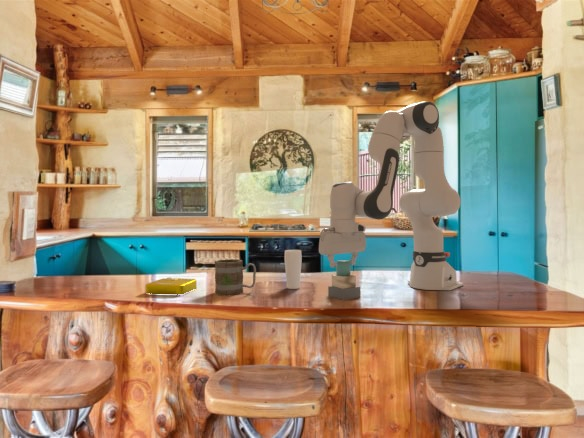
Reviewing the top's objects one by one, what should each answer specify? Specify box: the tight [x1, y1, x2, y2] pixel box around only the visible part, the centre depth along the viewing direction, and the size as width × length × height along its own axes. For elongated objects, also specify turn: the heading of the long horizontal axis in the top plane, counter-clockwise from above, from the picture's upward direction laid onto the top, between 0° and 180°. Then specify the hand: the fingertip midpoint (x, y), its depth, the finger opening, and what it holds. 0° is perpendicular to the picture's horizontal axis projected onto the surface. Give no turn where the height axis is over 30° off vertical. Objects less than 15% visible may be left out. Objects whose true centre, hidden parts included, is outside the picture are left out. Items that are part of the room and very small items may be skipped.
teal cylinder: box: [335, 259, 352, 276], centre depth 145 cm, size 5×5×5 cm
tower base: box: [327, 285, 361, 301], centre depth 145 cm, size 8×8×4 cm
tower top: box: [331, 274, 357, 289], centre depth 145 cm, size 6×6×4 cm
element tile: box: [145, 277, 197, 295], centre depth 157 cm, size 15×15×5 cm
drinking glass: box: [284, 249, 303, 290], centre depth 161 cm, size 7×7×15 cm
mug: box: [214, 258, 257, 297], centre depth 154 cm, size 16×11×12 cm
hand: (342, 265), depth 146 cm, fingers open, 8 cm apart
